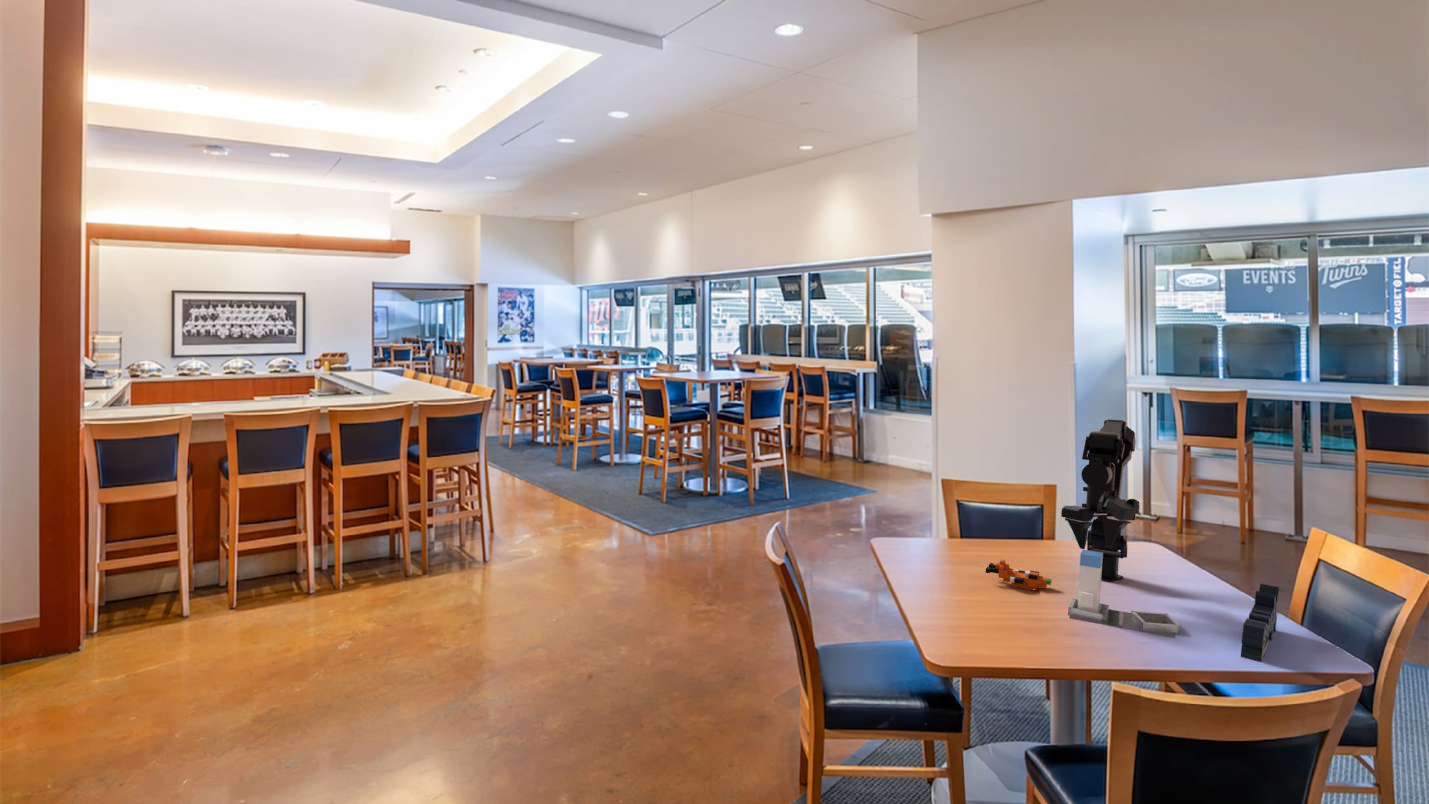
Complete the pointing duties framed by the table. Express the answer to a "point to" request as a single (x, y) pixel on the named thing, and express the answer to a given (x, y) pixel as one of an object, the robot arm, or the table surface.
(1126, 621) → the panel
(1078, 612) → the grey square holder
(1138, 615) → the gray square frame
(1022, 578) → the toy
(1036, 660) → the table surface
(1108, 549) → the robot arm
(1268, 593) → the logo
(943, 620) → the table surface
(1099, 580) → the plug
